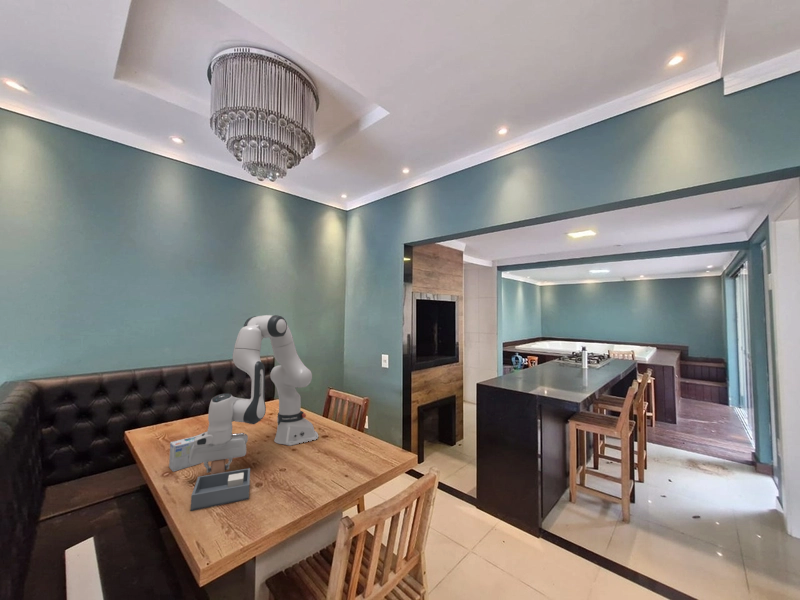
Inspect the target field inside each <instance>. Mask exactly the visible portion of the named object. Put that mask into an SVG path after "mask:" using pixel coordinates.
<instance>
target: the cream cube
mask: <svg viewBox="0 0 800 600" xmlns="http://www.w3.org/2000/svg"><path fill="white" fill-rule="evenodd" d="M243 478H244V472H243V473H237V474H231V475H229V478H228V488H229V487H234V486H240V485H243Z"/></svg>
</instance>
